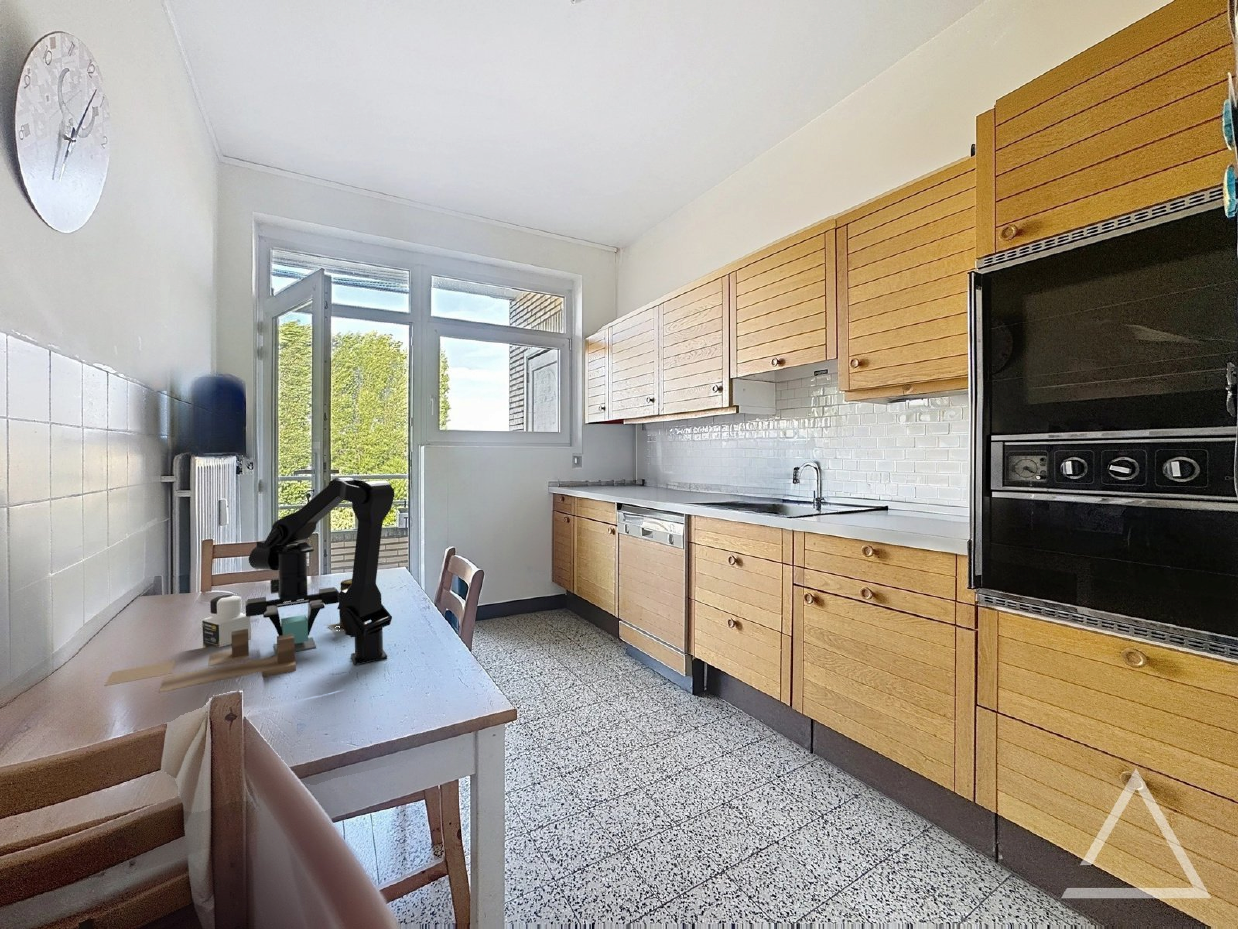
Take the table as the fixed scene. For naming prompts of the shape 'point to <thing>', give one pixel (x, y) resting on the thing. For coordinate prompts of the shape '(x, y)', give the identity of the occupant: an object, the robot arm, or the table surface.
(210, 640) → the medicine bottle
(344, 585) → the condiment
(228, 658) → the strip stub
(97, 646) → the table surface
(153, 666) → the board
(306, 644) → the coaster
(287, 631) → the cube
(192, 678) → the strip
